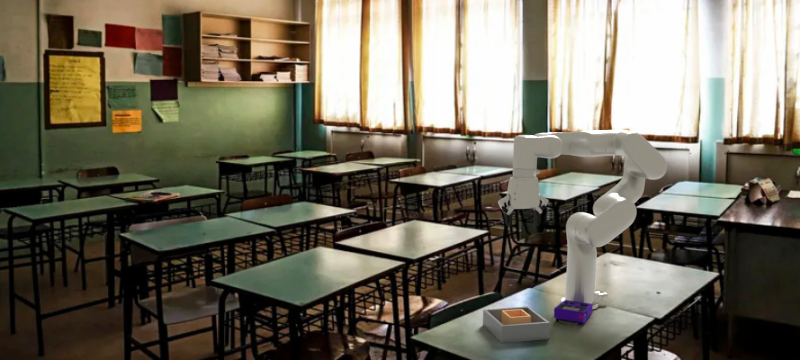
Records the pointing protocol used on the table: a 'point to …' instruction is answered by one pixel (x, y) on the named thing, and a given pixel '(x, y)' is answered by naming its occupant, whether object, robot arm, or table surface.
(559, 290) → the table surface
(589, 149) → the robot arm
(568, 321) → the handheld gaming console
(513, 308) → the grey square tray
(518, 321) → the orange crate
